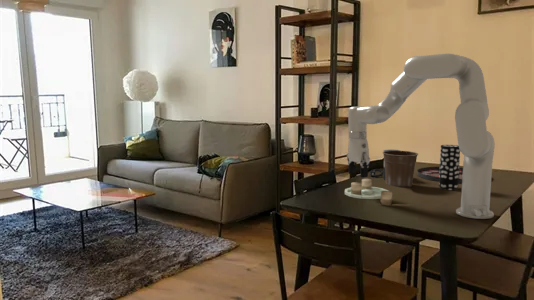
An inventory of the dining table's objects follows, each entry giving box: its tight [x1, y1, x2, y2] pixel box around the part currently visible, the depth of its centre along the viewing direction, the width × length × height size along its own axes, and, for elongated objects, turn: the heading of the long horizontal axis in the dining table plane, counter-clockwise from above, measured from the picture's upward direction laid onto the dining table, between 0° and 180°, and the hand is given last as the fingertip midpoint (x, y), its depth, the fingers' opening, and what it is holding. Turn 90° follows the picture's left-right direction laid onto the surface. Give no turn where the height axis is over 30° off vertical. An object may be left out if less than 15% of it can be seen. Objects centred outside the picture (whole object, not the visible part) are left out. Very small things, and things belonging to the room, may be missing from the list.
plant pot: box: [382, 150, 419, 188], centre depth 208 cm, size 16×16×16 cm
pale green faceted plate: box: [344, 186, 389, 200], centre depth 189 cm, size 19×19×2 cm
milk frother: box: [368, 149, 401, 180], centre depth 227 cm, size 14×16×15 cm
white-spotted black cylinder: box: [438, 144, 461, 191], centre depth 201 cm, size 8×8×20 cm
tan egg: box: [350, 181, 362, 195], centre depth 187 cm, size 4×4×5 cm
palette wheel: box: [416, 166, 463, 184], centre depth 230 cm, size 35×35×3 cm
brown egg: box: [379, 190, 393, 206], centre depth 175 cm, size 4×4×5 cm
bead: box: [361, 178, 373, 190], centre depth 194 cm, size 4×4×5 cm
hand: (358, 175), depth 186 cm, fingers open, 9 cm apart
